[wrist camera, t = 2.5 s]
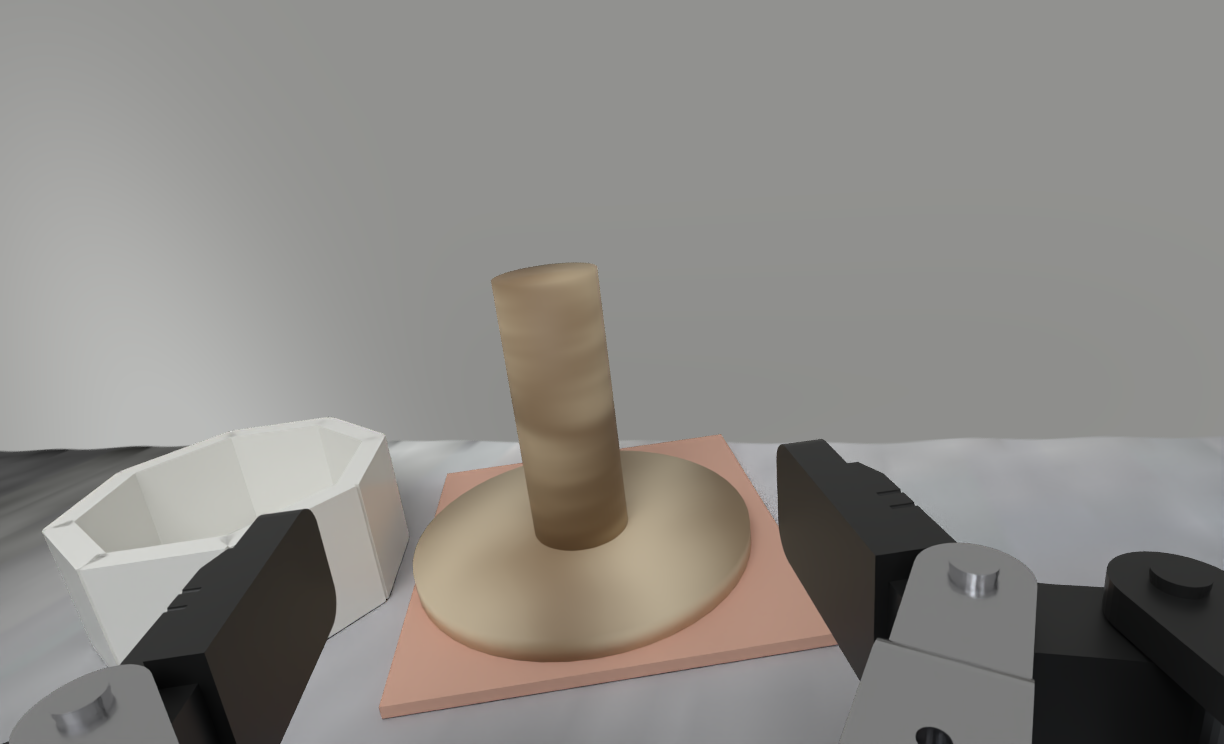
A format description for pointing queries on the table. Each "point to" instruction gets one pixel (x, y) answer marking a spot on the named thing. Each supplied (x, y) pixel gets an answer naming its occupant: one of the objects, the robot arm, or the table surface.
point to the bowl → (229, 522)
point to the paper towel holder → (576, 505)
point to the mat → (734, 630)
